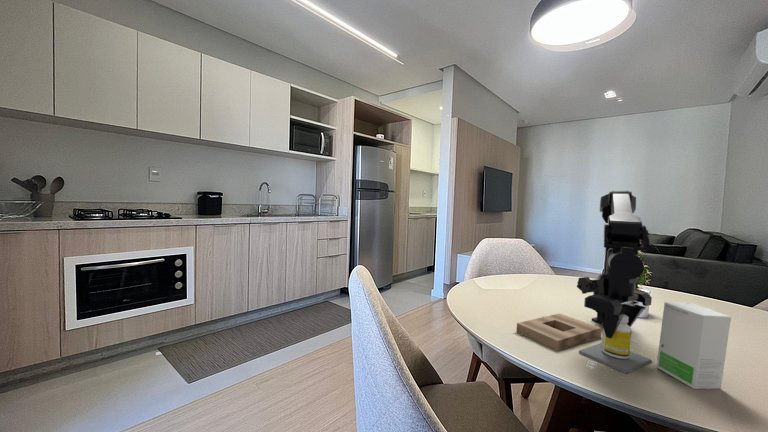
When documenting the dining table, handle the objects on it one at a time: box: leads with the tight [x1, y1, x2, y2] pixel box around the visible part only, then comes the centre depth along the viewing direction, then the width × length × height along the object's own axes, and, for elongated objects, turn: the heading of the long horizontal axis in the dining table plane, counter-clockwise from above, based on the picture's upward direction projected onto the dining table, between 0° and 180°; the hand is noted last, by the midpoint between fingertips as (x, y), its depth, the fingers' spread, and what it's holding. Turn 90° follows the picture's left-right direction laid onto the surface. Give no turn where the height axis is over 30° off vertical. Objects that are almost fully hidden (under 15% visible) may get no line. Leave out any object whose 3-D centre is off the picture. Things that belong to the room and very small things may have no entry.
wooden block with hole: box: [516, 313, 602, 351], centre depth 86 cm, size 20×12×2 cm, turn 118°
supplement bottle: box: [601, 315, 632, 359], centre depth 74 cm, size 5×5×10 cm
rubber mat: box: [578, 342, 653, 374], centre depth 74 cm, size 12×10×1 cm
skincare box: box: [656, 301, 732, 390], centre depth 65 cm, size 8×7×16 cm
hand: (616, 335), depth 73 cm, fingers open, 6 cm apart
